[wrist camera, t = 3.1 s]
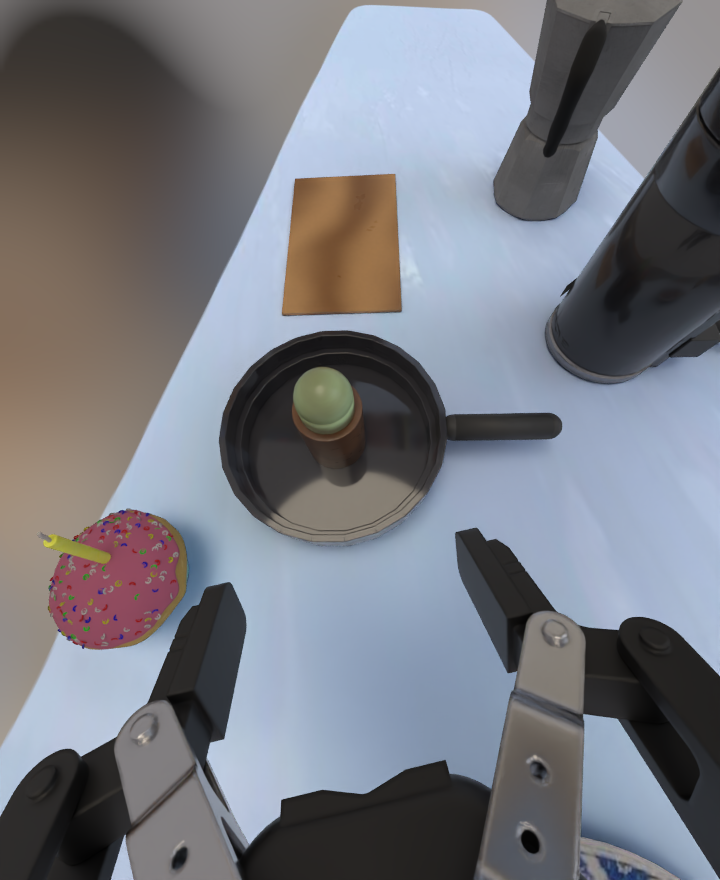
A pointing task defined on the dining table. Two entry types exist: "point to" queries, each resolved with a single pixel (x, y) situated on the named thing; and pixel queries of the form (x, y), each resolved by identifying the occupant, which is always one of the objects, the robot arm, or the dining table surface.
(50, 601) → the cupcake
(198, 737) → the robot arm
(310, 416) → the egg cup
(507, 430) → the pan handle
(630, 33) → the coffeepot
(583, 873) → the ceramic plate
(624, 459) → the dining table surface
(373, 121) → the dining table surface
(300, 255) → the placemat
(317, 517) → the pan
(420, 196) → the dining table surface
